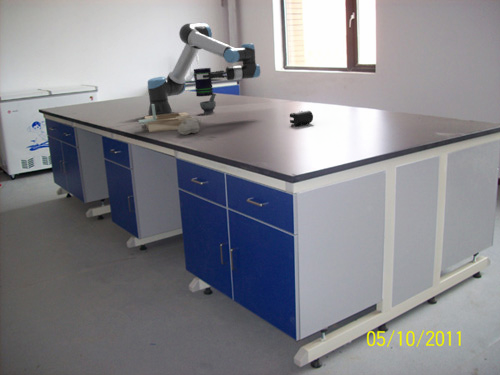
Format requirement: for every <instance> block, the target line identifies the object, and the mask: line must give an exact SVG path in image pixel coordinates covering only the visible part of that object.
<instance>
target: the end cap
mask: <svg viewBox="0 0 500 375" xmlns="http://www.w3.org/2000/svg"><path fill="white" fill-rule="evenodd" d="M289 118H292V119H290V120H289V123H290V126H291V127H299V126H305V125H310V124H311V123H312V122H313V119H314V114H313V113H312V111H310V110H306V111H305V110H304V111H303V110H302V111H298V112H291V113H290V114H289Z"/></svg>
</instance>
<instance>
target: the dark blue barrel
mask: <svg viewBox="0 0 500 375" xmlns="http://www.w3.org/2000/svg"><path fill="white" fill-rule="evenodd" d="M208 72H212V68H211V67H200V68H194V69H193V80H194V82H195V88H194V89H195V95H196V96H195V97H199V98H200V97H209V96H210V97H211V96H212V95H213V93H214V88H213V84H212V82H213V81H212V79H211V78H209V79H198V80H197V74H208ZM210 74H211V73H210ZM208 75H209V74H208ZM194 76H195V77H194Z"/></svg>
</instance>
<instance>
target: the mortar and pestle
mask: <svg viewBox="0 0 500 375" xmlns="http://www.w3.org/2000/svg"><path fill="white" fill-rule="evenodd" d="M216 96H217V94H216V93H215V92H213V95H211V96H210V98H209V100H206V101H200V102H199V105H200V106H199V107H200V108H201V110H202V111H203V114H204V115H207V114H214V113H215V112H214V110H215V107H216V104H217V102H216V100H215V98H216Z"/></svg>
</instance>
